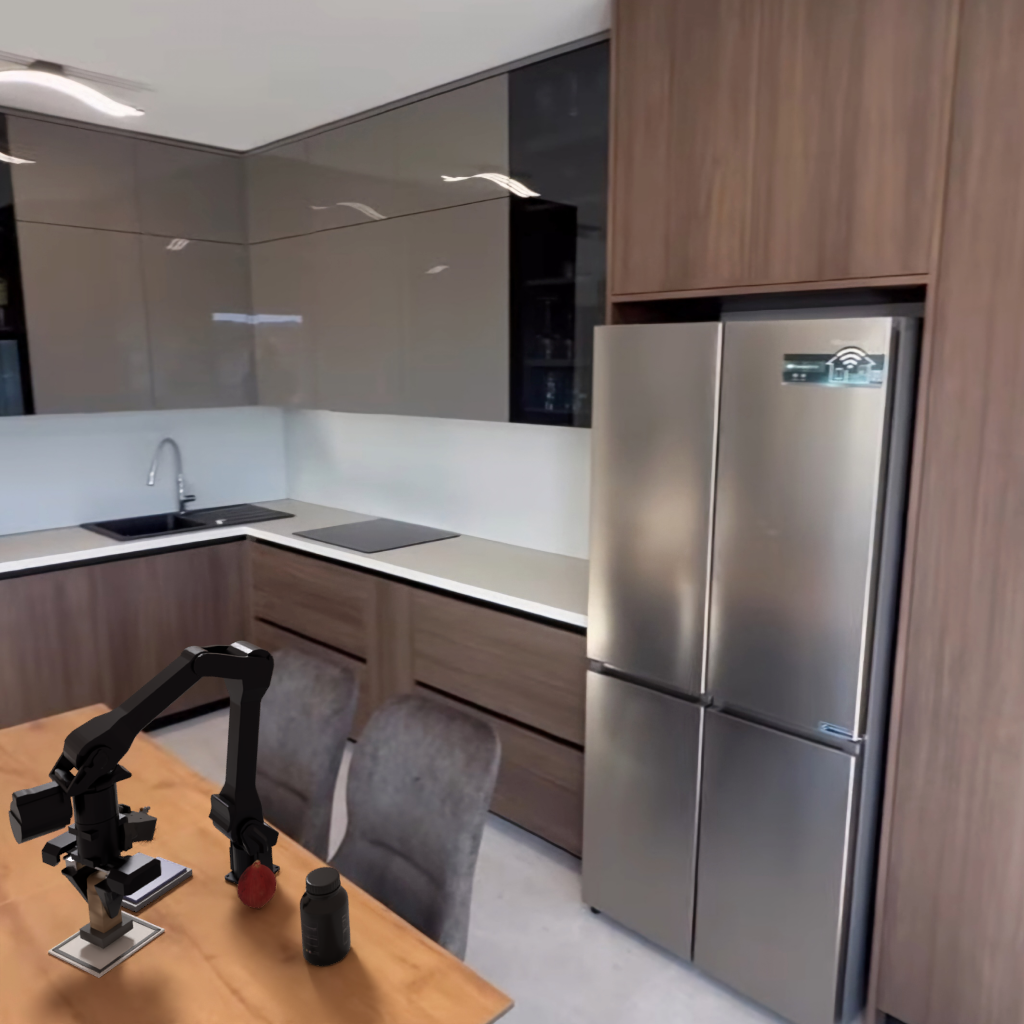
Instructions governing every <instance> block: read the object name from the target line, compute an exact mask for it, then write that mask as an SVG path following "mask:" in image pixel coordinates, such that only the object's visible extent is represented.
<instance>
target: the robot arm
mask: <svg viewBox="0 0 1024 1024" xmlns="http://www.w3.org/2000/svg"><path fill="white" fill-rule="evenodd" d="M274 658H275V657H274V656H273V655H272V654H271V653H270V652H269V651H268V650H267V649H264V648H262V647H259V646H258V645H256V644H253V643H251V642H249V641H247V640H238V641H234V642H233V643H231V644H228V645H227V644H211V645H206V646H198V645H192V646H188V647H186V648H184V649H183V651H182V652H180V655H179V656H178V657H177V658H176V659H174V660H173V661H172V662H170V663H169V664H168V665H166V667H164V668H163V669H162V670H161V671H160V672H159V673H157V674H156V675H155V676H153V677H152V678H151V679H150V680H149V681H148V682H146V683H145V684H144V685H143V686H141V688H139V689H138V690H137V691H136V692H134V693H133V694H132V695H130V697H128V698H127V699H126V700H125V701H124V702H122V703H120V704H119V706H117V707H115V708H114V709H112V710H110V711H108V712H105V713H102V714H99V715H97V716H95V717H92V718H90V720H88V721H86V722H85V723H83V724H81V725H79V726H78V727H76V728H75V729H73V730H71V732H70V733H69V734H68V735H67V736H66V737H65V738H64V741H63V742H64V743H63V748H62V752H61V754H60V755H59V757H58V759H57V760H56V762H55V763H54V765H53V767H52V769H51V770H50V772H49V774H48V778H50V780H51V781H50V782H47V783H46V782H45V783H44V784H43V783H42V784H40V785H37V786H34V787H31V788H25V789H20V790H16V791H13V792H12V794H11V798H12V799H11V800H12V801H10V806H9V810H8V820H9V824H10V829H11V832H12V835H13V838H14V840H15V841H16V844H18V845H21V844H24V843H27V842H29V841H32V840H34V839H38V838H41V837H43V836H46V835H49V834H52V833H54V832H57V831H61V830H62V829H65V828H66V827H67V828H68V830H66V831H65V832H63V833H61V834H60V835H58V836H55V837H54V838H51V839H49V840H48V841H46V843H45V844H44V846H43V847H42V849H41V860H42V863H44V864H46V865H49V866H51V867H53V868H55V867H56V866H58V865H60V864H59V863H60V862H61V856H62V855H63V856H62V860H63V861H65V867H64V868H62V869H61V870H60V871H61V872H60V873H61V875H63V876H64V877H65V878H66V879H67V880H68V881H69V883H70V884H71V885H72V886H73V887H74V888H75V889H76V891H77V892H78V893H79V895H80V896H81V897H82V898H83V900H84V901H85V902H86V904H88V896H87V878H88V877H89V876H90V875H91V874H92V873H94V872H96V871H98V870H100V871H103V872H105V873H107V874H108V875H106V876H105V878H106V879H104V880H102V881H101V882H99V883H97V884H96V885H94V887H95V889H96V892H97V894H98V896H99V898H100V900H101V902H102V904H103V906H104V908H105V910H106V912H107V914H108V916H109V918H111V919H113V918H114V917H116V916H117V915H118V913H119V910H120V906H121V903H122V900H123V897H124V896H129V895H132V894H133V893H135V892H136V891H138V890H140V889H141V888H143V887H144V886H146V885H147V884H149V883H150V882H152V881H153V880H155V879H157V878H158V877H160V876H161V873H162V870H161V861H160V860H158V859H156V857H154V856H151V855H148V854H146V853H143V852H140V851H138V852H137V853H135V854H134V855H131V854H126V855H124V856H123V855H122V854H121V853H122V852H129V850H131V849H133V847H134V846H133V843H138V842H145V841H146V842H150V841H151V842H152V841H153V840H154V835H155V830H156V826H157V821H158V818H157V817H155V816H152V815H150V814H148V813H147V814H148V815H147V814H144V813H141V812H139V811H135V810H132V809H131V806H130V805H129V804H128V805H127V804H125V803H119V797H118V795H119V794H118V785H117V783H118V782H121V781H124V780H127V779H131V778H132V776H133V774H132V772H130V770H128V769H127V768H126V767H125V766H124V765H122V764H120V763H119V762H120V761H121V760H122V759H123V758H124V757H125V756H126V754H127V753H128V752H129V751H130V748H131V747H132V745H133V743H134V741H135V739H136V738H137V736H138V735H139V734H140V732H141V731H142V730H143V729H145V728H146V727H147V726H149V724H150V723H152V721H154V720H155V719H156V718H157V717H159V716H160V715H161V714H162V713H163V712H164V711H166V709H168V708H169V707H170V706H171V705H172V704H173V703H175V702H176V701H177V700H178V699H180V698H181V697H182V696H183V695H184V694H185V693H187V692H188V691H189V690H190V689H191V688H192V687H193V686H195V685H196V684H197V683H198V682H199V681H201V679H202V678H205V677H206V678H208V677H211V678H212V677H214V678H222V679H223V681H224V684H225V687H226V689H227V693H228V696H229V714H228V730H227V731H228V732H227V747H226V748H227V749H226V765H225V780H224V785H223V787H222V788H221V789H220V791H219V793H212V794H210V812H209V813H208V816H207V817H208V819H210V820H211V821H212V825H213V827H214V828H215V829H217V831H219V832H221V834H222V835H224V836H225V837H226V838H227V839H228V840H229V845H230V846H229V847H228V850H229V866H230V870H231V871H229V872H228V873H227V874H225V875H224V880H225V881H228V882H231V883H232V884H233V883H234V884H236V885H238V881H239V879H240V877H241V875H242V874H243V872H244V871H245V870H246V869H247V868H248V867H249V866H251V865H252V864H253V863H254V862H255V861H256V860H259V861H260V864H262V865H265V866H267V867H268V868H269V869H270V870H271V871H272V872H273V873H274V875H275V874H276V873H278V872H280V870H281V867H280V865H278V864H275V863H274V861H273V858H274V857H273V847H275V846H276V845H277V842H278V838H279V835H280V832H279V831H277V830H276V829H275V828H274V827H272V826H271V825H270V824H269V823H267V822H266V821H265V818H264V808H263V807H264V806H263V804H262V800H261V798H260V795H259V792H258V789H257V785H256V784H257V771H258V770H257V769H258V753H259V740H260V739H259V738H260V737H259V736H260V726H261V725H260V724H261V721H260V720H261V710H262V709H261V706H262V700H263V697H264V696H265V694H266V693H267V692H268V690H269V688H270V686H271V683H272V679H273V674H274V671H275V670H274V669H275V659H274ZM74 768H75V770H76V771H77V773H76V774H75V775H74V774H73V773H72V772H71V771H72V770H73V769H74ZM72 818H73V821H74V822H73V823H72V824H71V821H72V820H71V819H72ZM64 854H66V855H64ZM121 907H122V906H121Z"/></svg>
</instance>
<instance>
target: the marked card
mask: <svg viewBox="0 0 1024 1024" xmlns="http://www.w3.org/2000/svg"><path fill="white" fill-rule="evenodd" d="M121 913H122V915H124V916H126V917H129V918H131V919H133V929H132V930H130V931H129V932H127V933H126V934H125V935H123V936H122V937H120V938H119V939H117V940H116V941H114V942H113V943H111V944H110V945H109V946H107V947H106V948H104V949H102V948H100V947H98V946H96V945H94V944H92V943H89V942H87V941H85V940H83V939H81V938H80V930H78V931H77V932H75V933H73V934H72V935H70V936H69V937H68V938H66V939H64V940H63V941H61V942H60V943H59V944H56V945H55V946H53V947H52V948H50V949H49V950H47V952H48V953H47V954H50V955H52V956H54V957H56V958H58V959H60V960H62V961H64V962H65V963H68V964H70V965H72V966H74V967H76V968H78V969H79V970H82V971H85V972H86V973H89V974H90V975H92V976H95V977H96V978H99V979H100V978H101V977H102V976H104V975H105V974H106V973H108V972H109V971H110V970H112V969H114V968H115V967H116V966H118V965H120V964H121V963H123V962H124V961H125V960H126V959H128V958H129V957H131V956H132V955H133V954H135V953H136V952H137V951H139V950H141V949H142V948H143V947H144V946H146V945H147V944H149V943H150V942H151V941H153V940H154V939H155V938H157V937H158V936H160V935H161V934H163V933H164V932H165V931H166V929H165V928H163V927H160V926H158V925H156V924H154V923H152V922H149V921H147V920H145V919H142V918H140V917H137V916H136V915H132V914H131V913H129V912H126V911H124V910H121ZM110 972H111V971H110Z"/></svg>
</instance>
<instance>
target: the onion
mask: <svg viewBox="0 0 1024 1024" xmlns="http://www.w3.org/2000/svg"><path fill="white" fill-rule="evenodd" d="M276 877H277V876H276V875H275V874H274V873H273V872H272V871H271V870H270V869H269V868H268V867H267V866H265V865H262V864H260V861H259V860H256V861H255V862H254V863H253V864H252V865H251V866H249V867H248V868H247V869H246V870H245V871H244V872H243V874H242V875H241V877H240V879H239V881H238V884H237V891H236V892H237V897H238V899H239V900H240V901H241V902H242V904H244V905H245V906H246V907H250V908H253V909H257V910H260V909H262V908H263V907H264V906H265V905H266V904H267V903H270V901H271V900H272V899H273V897H274V896H275V893H276V891H277V878H276Z"/></svg>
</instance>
